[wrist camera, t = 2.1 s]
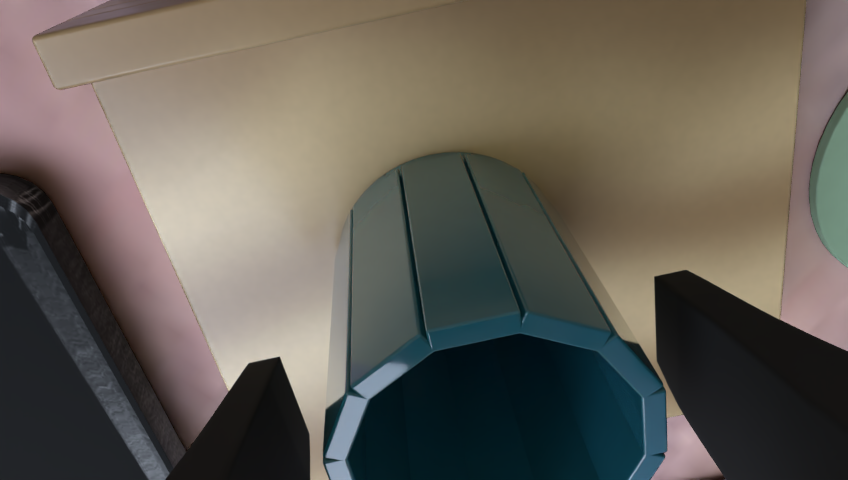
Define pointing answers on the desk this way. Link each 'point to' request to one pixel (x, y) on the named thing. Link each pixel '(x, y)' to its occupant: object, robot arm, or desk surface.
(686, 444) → the desk surface
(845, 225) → the coaster
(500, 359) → the cup
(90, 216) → the desk surface
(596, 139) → the shelf
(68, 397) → the phone
